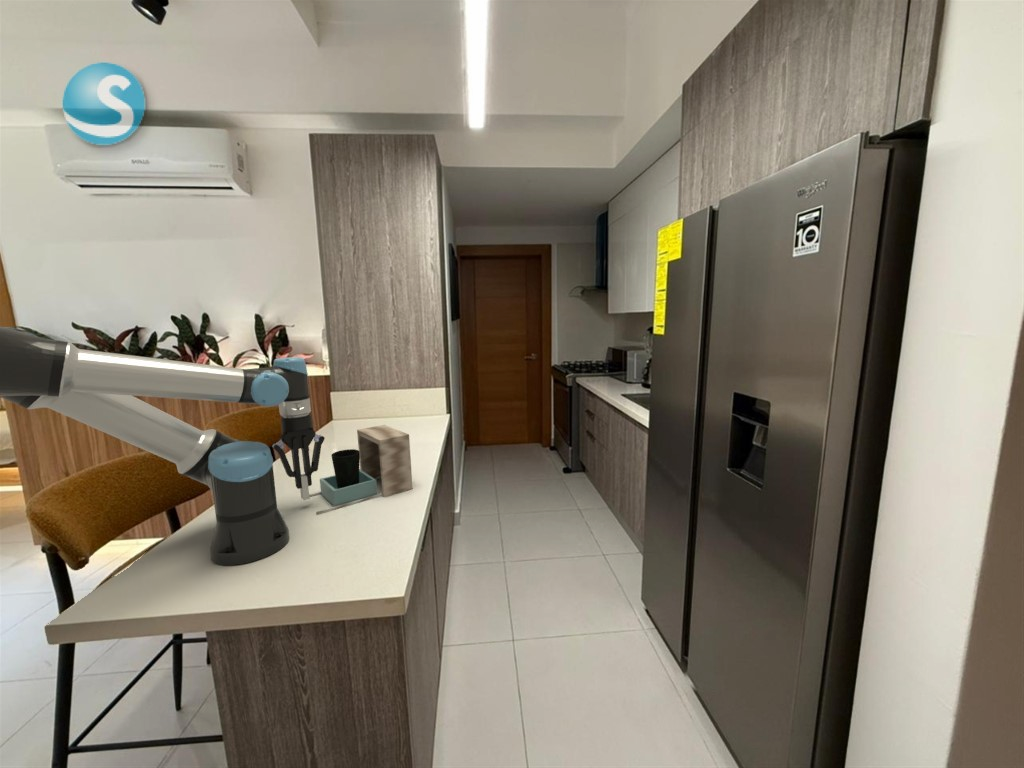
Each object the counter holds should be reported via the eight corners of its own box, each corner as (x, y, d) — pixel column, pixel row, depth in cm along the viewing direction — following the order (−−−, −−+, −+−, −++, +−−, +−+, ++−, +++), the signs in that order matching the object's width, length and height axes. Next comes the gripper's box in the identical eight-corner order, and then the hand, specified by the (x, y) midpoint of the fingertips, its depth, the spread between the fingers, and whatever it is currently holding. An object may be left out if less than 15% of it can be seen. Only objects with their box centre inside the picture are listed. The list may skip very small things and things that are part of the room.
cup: (353, 498, 119) (349, 457, 117) (329, 496, 121) (325, 456, 119) (367, 487, 127) (364, 449, 125) (345, 486, 128) (341, 448, 126)
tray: (335, 507, 115) (333, 491, 114) (321, 494, 125) (319, 478, 124) (377, 495, 123) (376, 479, 122) (361, 483, 132) (359, 469, 132)
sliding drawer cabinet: (318, 516, 110) (312, 454, 108) (300, 496, 124) (295, 440, 121) (412, 488, 127) (409, 434, 125) (387, 474, 141) (384, 424, 138)
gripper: (271, 421, 106) (282, 509, 109) (325, 412, 114) (334, 495, 117) (265, 416, 111) (276, 501, 115) (317, 409, 119) (325, 487, 123)
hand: (305, 498), depth 116 cm, fingers closed
